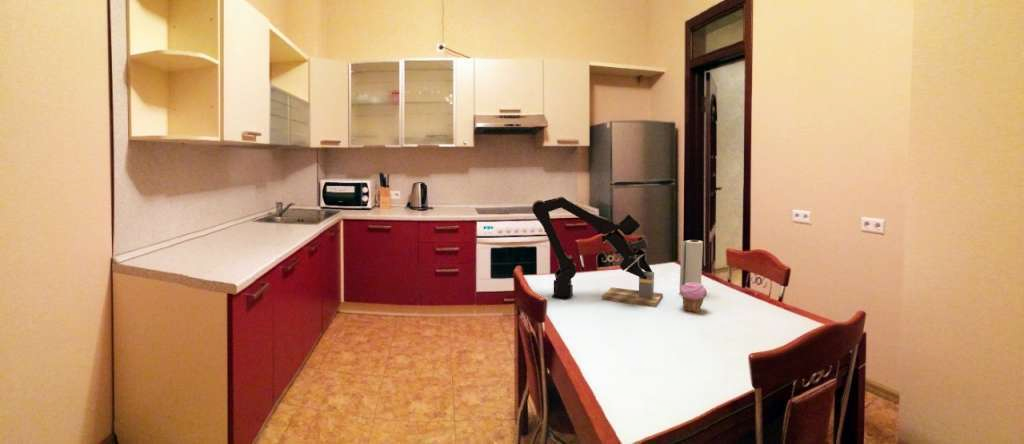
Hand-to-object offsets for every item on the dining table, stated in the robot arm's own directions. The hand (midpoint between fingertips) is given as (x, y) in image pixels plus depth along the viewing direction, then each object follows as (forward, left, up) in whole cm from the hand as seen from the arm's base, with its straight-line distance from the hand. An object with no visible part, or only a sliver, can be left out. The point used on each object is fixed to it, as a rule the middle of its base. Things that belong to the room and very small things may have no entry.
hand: (649, 275), depth 170 cm
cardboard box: (-6, 0, -10) cm, 11 cm away
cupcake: (+16, -4, -10) cm, 19 cm away
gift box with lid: (-1, 0, -8) cm, 8 cm away
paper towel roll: (+13, +15, -10) cm, 22 cm away
